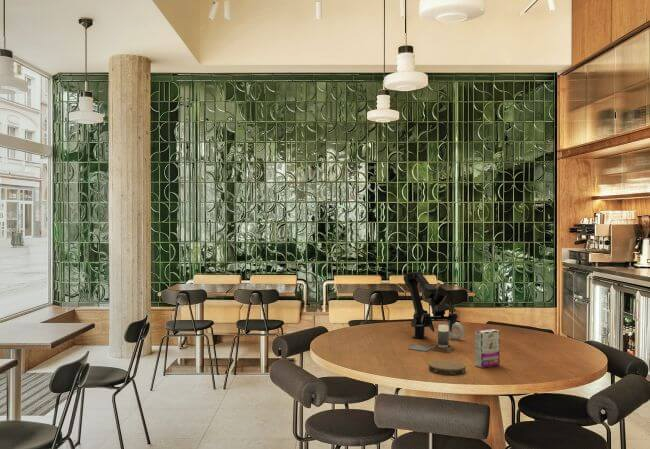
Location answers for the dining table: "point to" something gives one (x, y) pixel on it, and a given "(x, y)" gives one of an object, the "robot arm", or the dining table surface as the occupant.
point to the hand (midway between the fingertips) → (442, 331)
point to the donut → (459, 333)
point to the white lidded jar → (443, 335)
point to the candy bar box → (487, 348)
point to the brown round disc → (447, 367)
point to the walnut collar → (441, 349)
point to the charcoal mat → (420, 348)
